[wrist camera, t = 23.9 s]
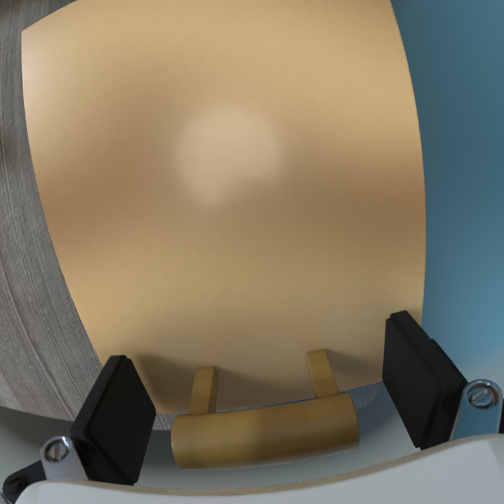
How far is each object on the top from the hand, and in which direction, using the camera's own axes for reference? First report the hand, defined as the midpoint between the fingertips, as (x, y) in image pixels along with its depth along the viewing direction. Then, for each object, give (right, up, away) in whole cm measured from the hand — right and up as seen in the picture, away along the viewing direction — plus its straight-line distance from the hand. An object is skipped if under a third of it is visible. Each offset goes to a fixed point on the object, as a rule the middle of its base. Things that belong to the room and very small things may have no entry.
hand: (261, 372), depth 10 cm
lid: (-1, +6, -1) cm, 6 cm away
